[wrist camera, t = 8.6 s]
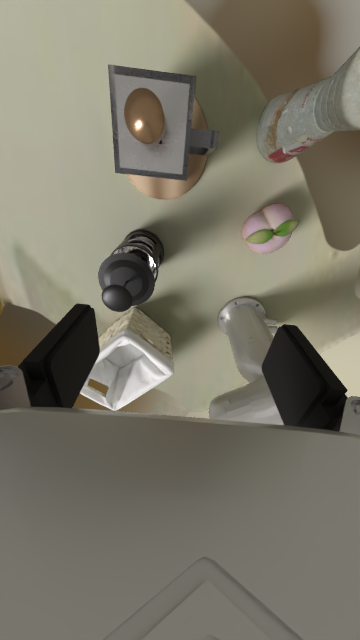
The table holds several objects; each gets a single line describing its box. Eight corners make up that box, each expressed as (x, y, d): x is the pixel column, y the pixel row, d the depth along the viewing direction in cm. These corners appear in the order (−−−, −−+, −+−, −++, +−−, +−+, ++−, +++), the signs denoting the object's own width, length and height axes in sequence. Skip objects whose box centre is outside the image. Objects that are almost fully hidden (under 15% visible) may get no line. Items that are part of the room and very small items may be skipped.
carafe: (211, 117, 34) (228, 80, 22) (203, 182, 39) (212, 183, 27) (135, 107, 33) (108, 64, 21) (137, 175, 39) (115, 172, 26)
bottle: (292, 76, 32) (582, -196, 9) (316, 134, 36) (564, 49, 12) (244, 127, 35) (361, 28, 12) (270, 175, 39) (399, 169, 16)
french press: (153, 219, 43) (130, 250, 24) (173, 259, 48) (167, 311, 29) (107, 245, 46) (55, 290, 27) (131, 280, 51) (100, 340, 32)
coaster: (215, 87, 33) (216, 86, 32) (200, 203, 42) (200, 203, 41) (113, 74, 32) (112, 72, 31) (120, 194, 41) (119, 194, 40)
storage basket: (136, 299, 54) (123, 334, 42) (178, 336, 61) (177, 375, 49) (85, 345, 63) (61, 385, 51) (126, 372, 70) (114, 413, 58)
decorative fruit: (244, 253, 47) (257, 269, 39) (231, 219, 43) (243, 228, 35) (286, 232, 45) (310, 244, 36) (276, 193, 41) (300, 197, 32)
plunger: (182, 122, 33) (182, 68, 17) (178, 170, 37) (176, 164, 21) (142, 117, 33) (104, 57, 17) (142, 166, 37) (111, 156, 21)
